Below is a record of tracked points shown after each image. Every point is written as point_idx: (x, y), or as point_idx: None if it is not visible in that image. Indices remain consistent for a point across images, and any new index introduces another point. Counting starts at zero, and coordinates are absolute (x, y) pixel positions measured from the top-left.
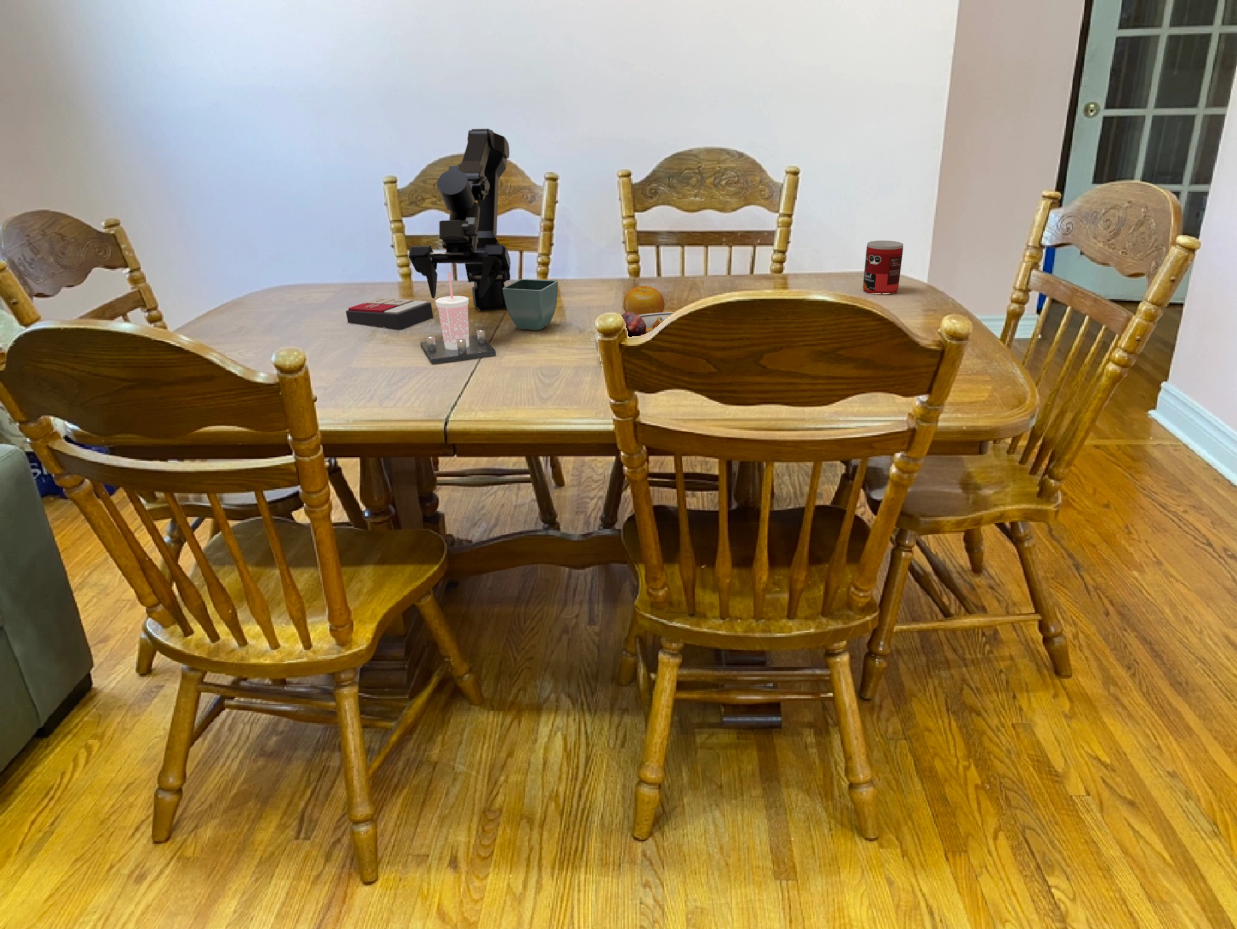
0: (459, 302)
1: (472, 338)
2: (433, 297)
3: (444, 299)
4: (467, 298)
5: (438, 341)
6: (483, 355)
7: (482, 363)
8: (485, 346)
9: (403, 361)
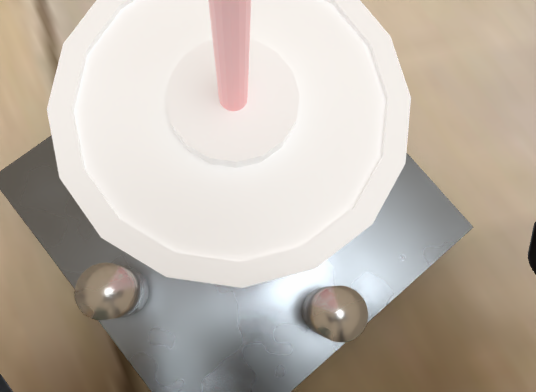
0: (96, 12)
1: (219, 366)
2: (532, 237)
3: (336, 125)
4: (80, 190)
5: (382, 260)
6: None
7: (32, 65)
8: (77, 235)
9: (409, 20)
